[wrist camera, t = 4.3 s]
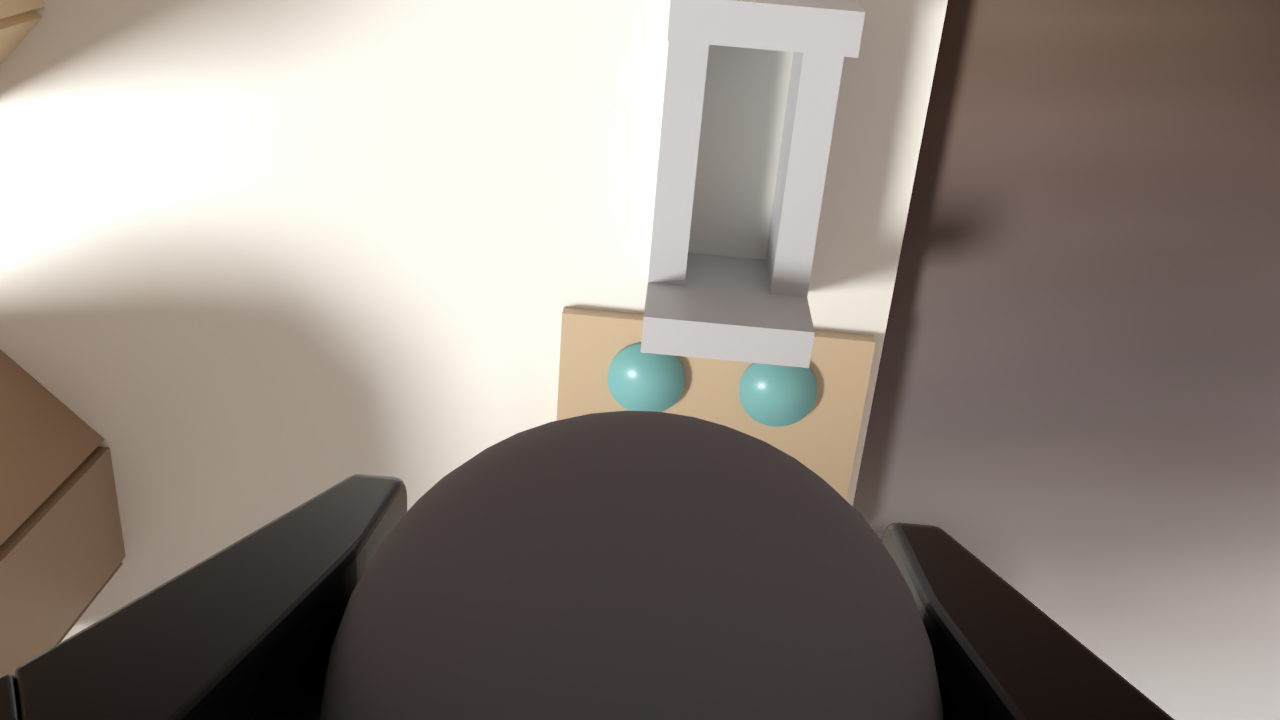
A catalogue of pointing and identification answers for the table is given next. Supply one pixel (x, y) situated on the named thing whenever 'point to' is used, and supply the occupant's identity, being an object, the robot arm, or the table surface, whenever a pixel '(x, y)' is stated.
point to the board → (419, 251)
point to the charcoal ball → (631, 589)
